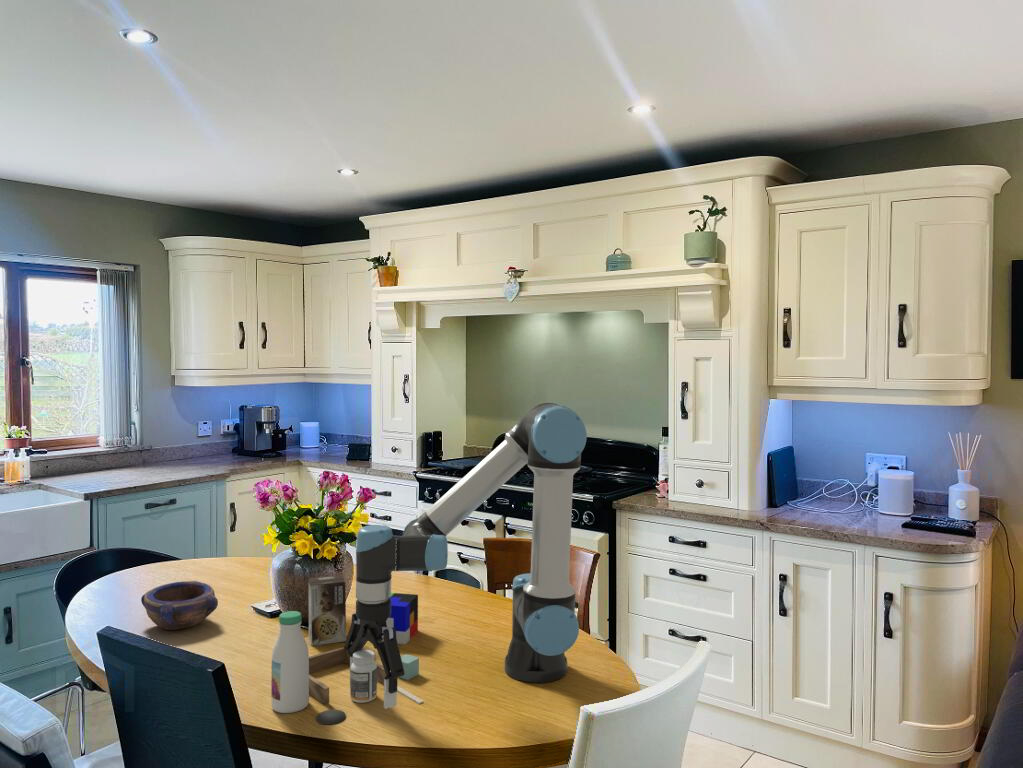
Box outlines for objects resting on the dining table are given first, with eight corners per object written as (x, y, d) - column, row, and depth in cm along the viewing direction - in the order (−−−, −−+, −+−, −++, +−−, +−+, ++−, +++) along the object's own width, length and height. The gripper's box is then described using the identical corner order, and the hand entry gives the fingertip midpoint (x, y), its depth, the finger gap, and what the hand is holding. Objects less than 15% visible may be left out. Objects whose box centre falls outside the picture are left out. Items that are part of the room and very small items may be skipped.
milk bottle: (312, 697, 168) (312, 607, 167) (304, 714, 160) (304, 620, 160) (277, 697, 168) (277, 607, 167) (266, 714, 160) (266, 620, 159)
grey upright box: (342, 633, 207) (342, 574, 206) (346, 642, 201) (346, 581, 200) (307, 637, 203) (307, 577, 203) (310, 646, 197) (310, 584, 197)
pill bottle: (364, 689, 172) (364, 646, 172) (382, 697, 169) (382, 652, 168) (344, 698, 168) (345, 654, 167) (362, 706, 164) (362, 661, 164)
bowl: (154, 642, 199) (154, 604, 198) (136, 623, 213) (136, 587, 212) (224, 627, 210) (224, 591, 210) (202, 610, 224) (202, 576, 224)
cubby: (387, 683, 176) (387, 668, 176) (325, 704, 165) (325, 688, 165) (346, 659, 189) (346, 645, 189) (286, 678, 178) (286, 663, 178)
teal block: (418, 674, 181) (419, 658, 181) (407, 680, 178) (407, 663, 178) (405, 670, 183) (406, 654, 183) (394, 676, 180) (394, 659, 180)
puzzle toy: (405, 644, 200) (405, 606, 199) (369, 641, 202) (369, 603, 201) (417, 630, 209) (418, 594, 209) (383, 627, 211) (383, 592, 211)
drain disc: (351, 718, 159) (351, 716, 159) (325, 727, 155) (325, 726, 155) (336, 708, 163) (336, 706, 163) (310, 717, 159) (310, 715, 159)
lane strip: (423, 702, 167) (423, 700, 167) (419, 703, 166) (419, 702, 166) (392, 684, 175) (392, 683, 175) (387, 685, 175) (387, 684, 175)
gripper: (422, 610, 158) (420, 710, 159) (358, 581, 176) (357, 671, 177) (391, 618, 153) (390, 722, 154) (329, 587, 171) (328, 680, 172)
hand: (372, 695), depth 166 cm, fingers open, 13 cm apart
